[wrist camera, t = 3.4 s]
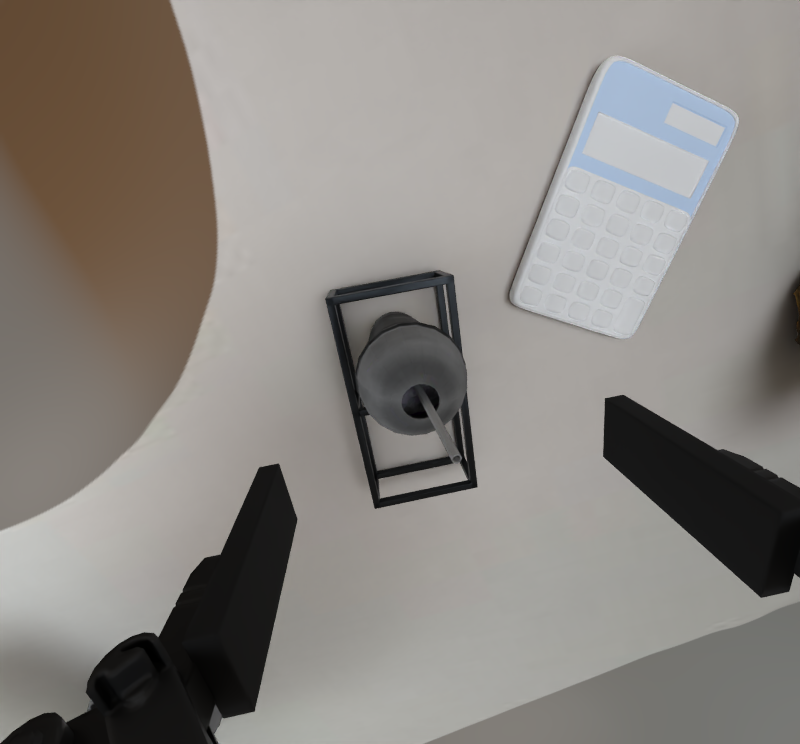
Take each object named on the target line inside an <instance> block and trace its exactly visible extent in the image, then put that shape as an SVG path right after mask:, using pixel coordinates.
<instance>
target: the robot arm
mask: <svg viewBox="0 0 800 744" xmlns="http://www.w3.org/2000/svg"><path fill="white" fill-rule="evenodd" d="M603 457H604V458H605V459H606V460H608V461H609V462H610V463H611V464H612V465H613V466H614V467H615V468H616V469H618V470H619V471H620V472H621V473H622V474H623V475H624V476H625V477H627V478H628V479H629V480H630V481H631V482H632V483H633V484H634V485H635V486H637V487H638V488H639V489H640V490H641V491H642V492H643V493H644V494H646V495H647V496H648V497H649V498H650V499H651V500H652V501H653V502H655V503H656V504H657V505H658V506H659V507H660V508H661V509H662V510H663V511H665V512H666V513H667V514H668V515H669V516H670V517H671V518H672V519H674V520H675V521H676V522H677V523H678V524H679V525H680V526H681V527H683V528H684V529H685V530H686V531H687V532H688V533H689V534H690V535H691V536H693V537H694V538H695V539H696V540H697V541H698V542H699V543H700V544H702V545H703V546H704V547H705V548H706V549H707V550H708V551H709V552H711V553H712V554H713V555H714V556H715V557H716V558H717V559H718V560H719V561H721V562H722V563H723V564H724V565H725V566H726V567H727V568H728V569H730V570H731V571H732V572H733V573H734V574H735V575H736V576H737V577H739V578H740V579H741V580H742V581H743V582H744V583H745V584H746V585H747V586H749V587H750V588H751V589H752V590H753V591H754V592H755V593H756V594H758V595H759V596H760V597H761V598H762V597H767V596H771V595H776V594H780V593H785V592H789V590H790V587H791V583H792V579H793V576H794V574H796V575H797V576H798V577H800V488H799V487H797V486H796V485H794V484H792V483H790V482H788V481H787V480H785V479H783V478H779V477H778V476H777V475H776V474H774V473H773V472H771V471H769V470H767V469H763V467H762V466H760V465H758V464H757V463H755V462H753V461H751V460H750V459H748V458H746V457H744V456H741V455H738V454H735V453H732V452H730V451H727V450H724V449H722V450H716V449H714V448H713V447H711V446H709V445H708V444H706V443H704V442H703V441H701V440H699V439H697V438H696V437H694V436H692V435H691V434H689V433H687V432H686V431H684V430H682V429H680V428H679V427H677V426H675V425H674V424H672V423H670V422H669V421H667V420H665V419H664V418H662V417H660V416H658V415H657V414H655V413H653V412H652V411H650V410H648V409H647V408H645V407H643V406H641V405H640V404H638V403H636V402H635V401H633V400H631V399H630V398H628V397H626V396H625V395H620V396H615V397H610V398H605V416H604V449H603ZM296 524H297V517H296V514H295V511H294V508H293V505H292V502H291V499H290V496H289V492H288V489H287V486H286V483H285V480H284V477H283V474H282V471H281V468H280V465H279V464H274V465H269V466H264V467H259V469H258V471H257V474H256V476H255V478H254V480H253V483H252V485H251V487H250V489H249V492H248V494H247V496H246V498H245V501H244V503H243V505H242V507H241V510H240V512H239V514H238V516H237V519H236V521H235V523H234V525H233V528H232V530H231V532H230V534H229V537H228V539H227V541H226V543H225V546H224V548H223V550H222V552H221V555H216V556H211V557H207V558H204V559H203V561H202V562H201V563H200V564H199V565H198V566H197V567H196V568H195V570H194V571H193V572H192V573H191V574H190V576H189V578H188V580H187V582H186V584H185V586H184V588H183V593H181V594H180V596H179V598H178V600H177V602H176V607H174V608H173V610H172V612H171V614H170V616H169V618H168V620H167V622H166V624H165V626H164V628H163V630H162V632H161V634H160V636H159V638H158V637H157V636H156V635H155V634H154V633H145V632H144V633H141V634H138V635H134V636H132V637H130V638H128V639H127V640H125V641H123V642H121V643H120V644H118V645H117V646H116V647H115V648H113V649H112V650H111V651H110V652H109V653H108V654H106V655H105V656H104V658H103V659H102V660H101V661H100V662H99V664H98V665H97V666H96V667H95V668H94V670H93V672H92V674H91V676H90V678H89V680H88V682H87V690H86V693H87V695H88V696H89V697H90V699H91V701H90V703H89V706H88V709H87V712H86V713H84V714H82V715H80V716H78V717H76V718H74V719H72V720H70V721H68V722H65V721H64V720H63V719H62V717H60V716H59V715H58V714H57V713H44V714H42V715H40V716H37V717H35V718H33V719H31V720H29V721H27V722H26V723H25V724H23V725H22V726H20V727H19V728H17V729H16V730H15V731H13V732H12V733H11V734H10V735H9V736H8V737H7V738H6V739H5V740H4V741H3V742H2V743H0V744H218V742H217V740H216V737H215V735H214V733H215V732H216V730H217V728H218V726H219V725H220V722H221V719H222V717H223V718H228V717H232V716H237V715H241V714H245V713H250V712H254V711H255V707H256V703H257V698H258V694H259V689H260V685H261V680H262V676H263V671H264V667H265V662H266V658H267V653H268V649H269V644H270V640H271V636H272V631H273V627H274V622H275V618H276V613H277V609H278V604H279V600H280V595H281V591H282V586H283V582H284V577H285V573H286V569H287V564H288V560H289V555H290V551H291V546H292V542H293V537H294V533H295V528H296Z"/></svg>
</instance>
